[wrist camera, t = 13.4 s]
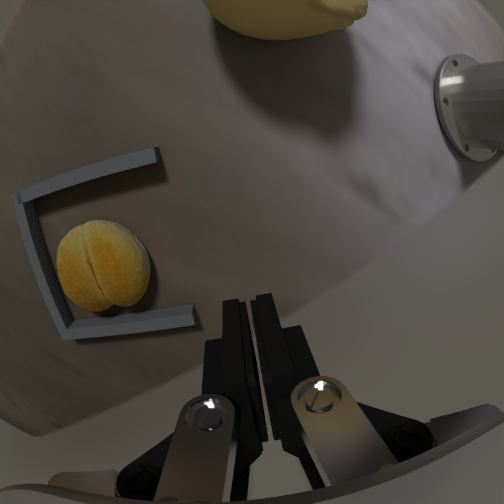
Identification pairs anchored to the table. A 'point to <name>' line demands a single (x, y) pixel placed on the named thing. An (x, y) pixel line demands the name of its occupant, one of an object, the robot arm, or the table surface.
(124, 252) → the bread roll
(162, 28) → the table surface
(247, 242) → the table surface
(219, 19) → the pale yellow rounded lump
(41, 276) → the bay
